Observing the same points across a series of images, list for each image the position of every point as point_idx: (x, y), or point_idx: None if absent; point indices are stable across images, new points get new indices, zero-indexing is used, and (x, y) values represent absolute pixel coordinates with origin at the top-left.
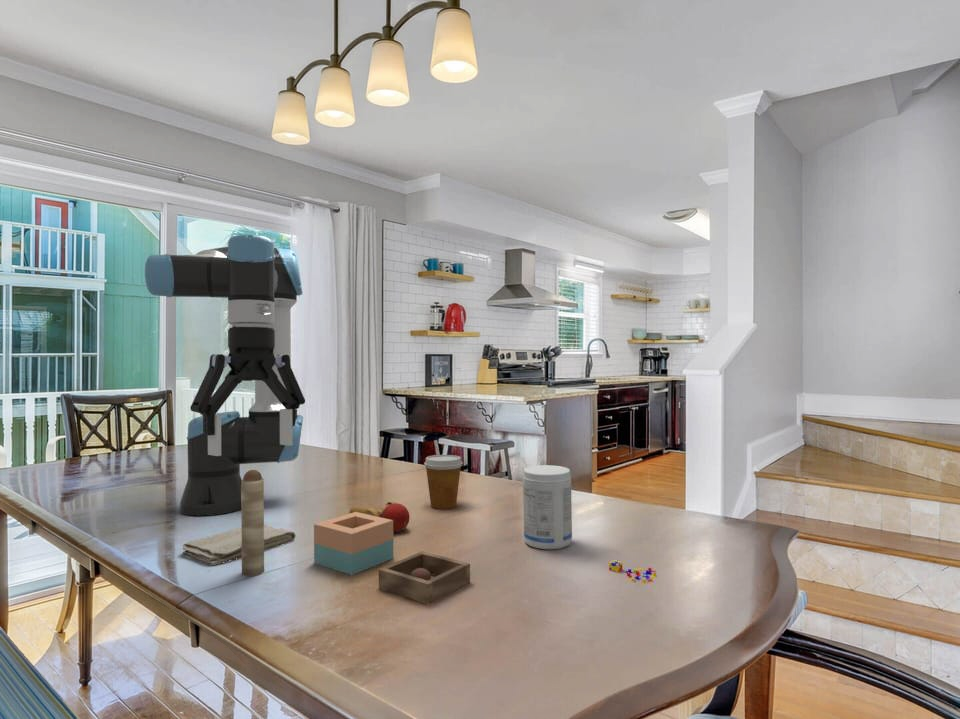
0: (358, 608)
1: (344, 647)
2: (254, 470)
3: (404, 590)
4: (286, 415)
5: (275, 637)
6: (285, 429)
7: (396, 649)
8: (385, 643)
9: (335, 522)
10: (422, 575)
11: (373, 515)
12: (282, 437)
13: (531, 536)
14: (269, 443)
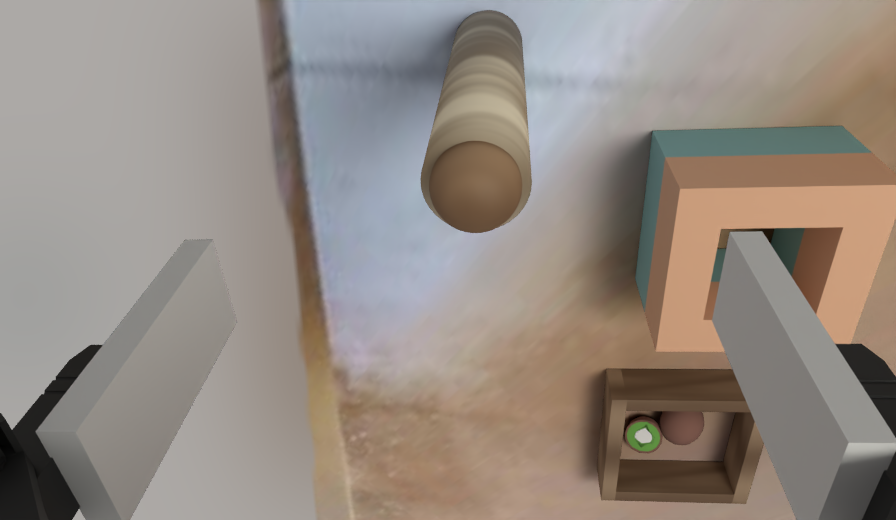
0: (507, 397)
1: (398, 459)
2: (478, 218)
3: (602, 434)
4: (791, 472)
5: (337, 372)
6: (752, 367)
7: (445, 506)
8: (447, 489)
9: (740, 227)
10: (669, 440)
11: None
12: (741, 290)
13: None
14: None
